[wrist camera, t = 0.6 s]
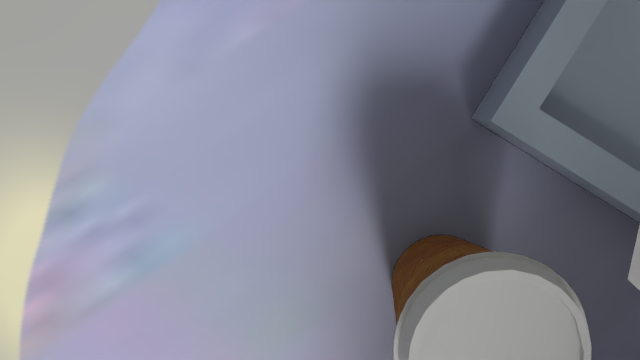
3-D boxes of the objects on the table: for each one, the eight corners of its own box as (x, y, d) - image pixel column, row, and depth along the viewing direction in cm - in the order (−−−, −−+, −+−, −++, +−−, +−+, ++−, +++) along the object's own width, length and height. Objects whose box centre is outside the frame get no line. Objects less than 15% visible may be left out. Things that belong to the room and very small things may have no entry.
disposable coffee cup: (454, 180, 39) (523, 217, 27) (539, 291, 40) (641, 373, 28) (337, 271, 40) (355, 346, 28) (425, 378, 41) (478, 494, 29)
